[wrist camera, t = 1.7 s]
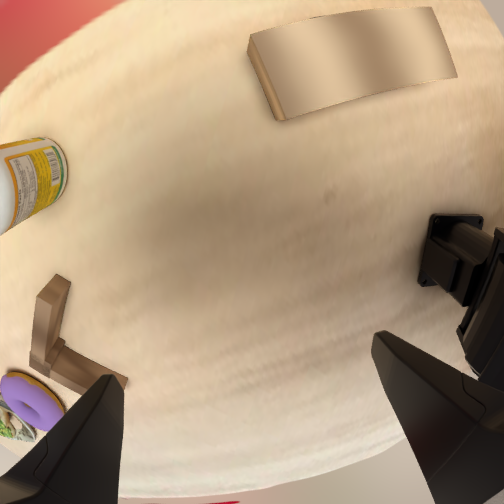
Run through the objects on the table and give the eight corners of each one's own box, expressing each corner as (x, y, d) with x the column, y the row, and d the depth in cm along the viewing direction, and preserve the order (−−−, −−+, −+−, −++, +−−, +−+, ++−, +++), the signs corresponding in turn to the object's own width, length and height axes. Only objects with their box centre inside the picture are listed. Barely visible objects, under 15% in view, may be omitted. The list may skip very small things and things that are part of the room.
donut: (78, 405, 28) (64, 437, 24) (61, 414, 32) (49, 439, 28) (13, 355, 25) (-6, 385, 21) (6, 372, 29) (-8, 397, 25)
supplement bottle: (81, 160, 18) (-9, 195, 9) (52, 218, 19) (-27, 278, 11) (34, 123, 16) (-60, 140, 7) (9, 182, 18) (-74, 223, 9)
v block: (65, 271, 21) (45, 293, 18) (132, 384, 27) (125, 411, 23) (10, 288, 21) (-9, 308, 18) (76, 388, 27) (66, 410, 24)
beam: (400, 17, 14) (430, 4, 11) (424, 80, 17) (458, 77, 13) (245, 49, 16) (248, 31, 12) (275, 120, 18) (286, 119, 14)
